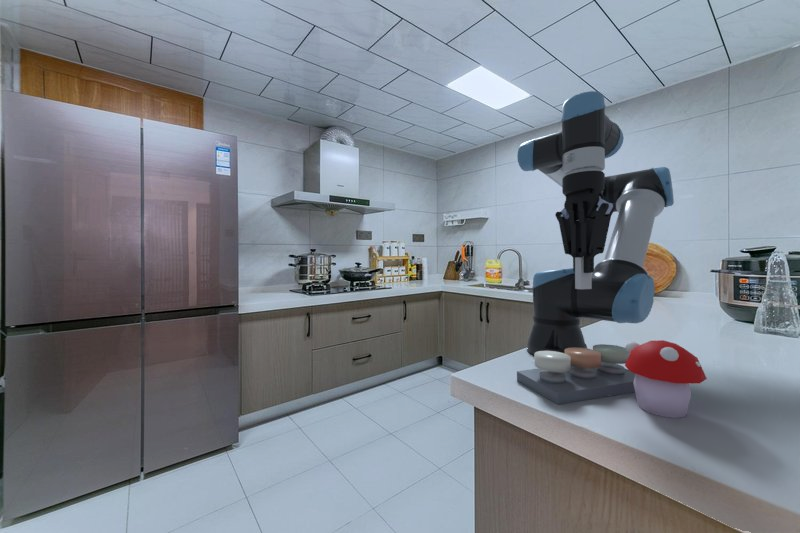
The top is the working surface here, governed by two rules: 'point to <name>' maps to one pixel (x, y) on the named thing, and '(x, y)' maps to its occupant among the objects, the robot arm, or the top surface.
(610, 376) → the button board
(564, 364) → the white flat dome
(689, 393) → the mushroom
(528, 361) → the top surface
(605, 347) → the sage cap
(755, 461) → the top surface
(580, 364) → the terracotta cap
